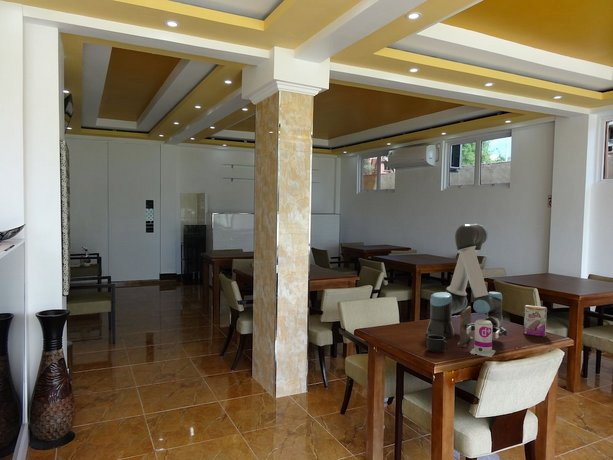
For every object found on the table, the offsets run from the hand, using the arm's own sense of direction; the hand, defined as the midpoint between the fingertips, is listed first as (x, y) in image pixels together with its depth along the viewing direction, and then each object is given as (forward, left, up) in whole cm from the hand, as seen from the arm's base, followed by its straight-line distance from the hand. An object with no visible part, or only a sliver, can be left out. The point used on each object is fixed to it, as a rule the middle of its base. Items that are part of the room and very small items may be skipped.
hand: (481, 333), depth 220 cm
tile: (0, +3, -10) cm, 11 cm away
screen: (-11, +16, -10) cm, 22 cm away
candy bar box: (+18, +54, -11) cm, 58 cm away
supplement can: (0, +3, -10) cm, 10 cm away
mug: (-19, -8, -11) cm, 23 cm away
